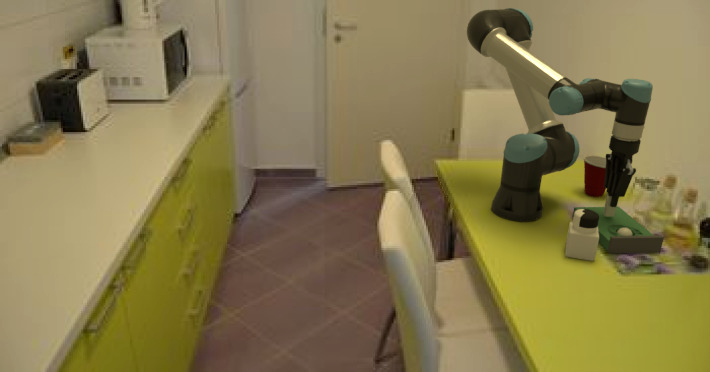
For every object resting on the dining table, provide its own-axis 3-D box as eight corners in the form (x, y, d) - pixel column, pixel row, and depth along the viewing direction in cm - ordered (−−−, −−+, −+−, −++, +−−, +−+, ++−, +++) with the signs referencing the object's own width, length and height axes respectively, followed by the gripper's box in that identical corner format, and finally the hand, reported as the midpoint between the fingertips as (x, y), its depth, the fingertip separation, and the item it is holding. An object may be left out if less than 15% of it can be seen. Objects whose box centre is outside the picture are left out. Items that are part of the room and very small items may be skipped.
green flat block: (609, 253, 152) (612, 238, 150) (572, 216, 174) (574, 202, 172) (660, 252, 153) (663, 237, 152) (617, 215, 175) (619, 202, 173)
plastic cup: (613, 202, 184) (621, 167, 180) (578, 198, 187) (584, 163, 183) (610, 190, 194) (617, 156, 189) (576, 186, 197) (582, 153, 192)
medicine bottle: (593, 249, 154) (601, 208, 150) (594, 261, 148) (603, 219, 143) (565, 244, 156) (572, 204, 152) (565, 256, 150) (572, 215, 145)
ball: (625, 244, 155) (616, 231, 156) (619, 245, 159) (611, 232, 160) (637, 237, 155) (629, 224, 156) (631, 237, 159) (623, 225, 160)
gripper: (652, 145, 151) (632, 225, 160) (627, 130, 163) (610, 205, 172) (624, 144, 150) (606, 225, 159) (602, 129, 162) (586, 205, 171)
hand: (608, 215), depth 165 cm, fingers closed
